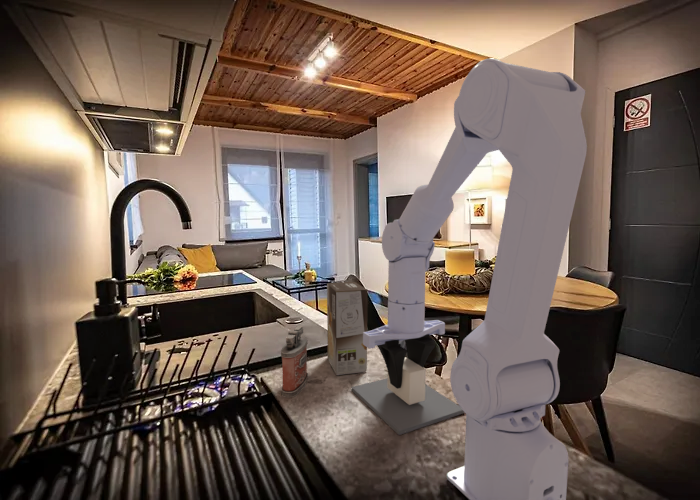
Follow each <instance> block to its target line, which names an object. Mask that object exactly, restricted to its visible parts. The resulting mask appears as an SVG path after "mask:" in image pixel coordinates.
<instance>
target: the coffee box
mask: <svg viewBox="0 0 700 500" xmlns="http://www.w3.org/2000/svg"><path fill="white" fill-rule="evenodd" d="M326 301H327V302H326V303H327V304H326V309H327V311H326V312H327V313H326V314H327V315H326V316H327V318H326V319H327V320H326V321H327V359H328V362H329V364H330V366H331V368H332V369H333V371H334V373H335V376H342V375H350V374H358V373H359V374H360V373H366V372H367V370H368V347H366V346H365V345H363V332H368V289H367V288H365V287H364V286H362V285H360V284H359V283H357V282H356V281H340V282H328V283H327V284H326Z"/></svg>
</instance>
